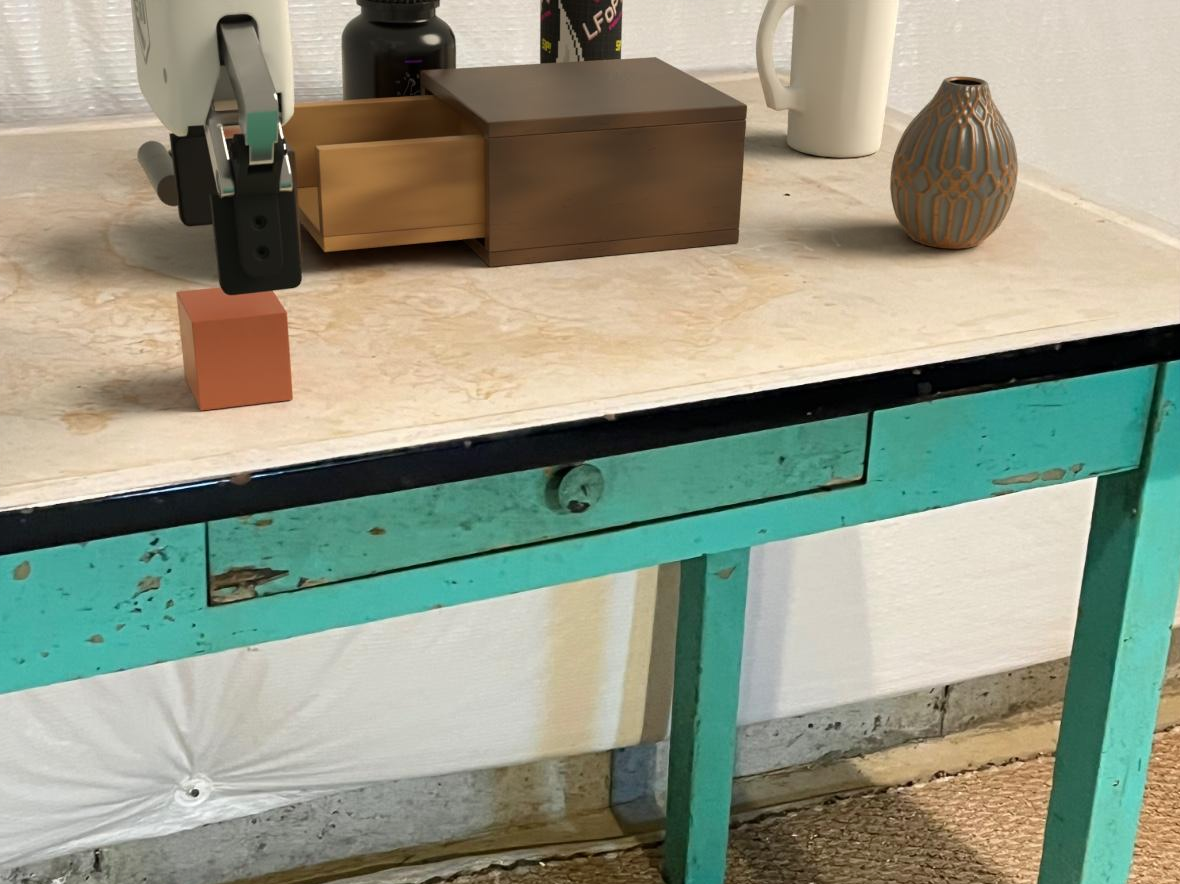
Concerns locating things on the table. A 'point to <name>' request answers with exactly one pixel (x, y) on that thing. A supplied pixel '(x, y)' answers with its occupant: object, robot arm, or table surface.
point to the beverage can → (580, 30)
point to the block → (234, 347)
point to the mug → (831, 73)
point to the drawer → (372, 172)
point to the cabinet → (599, 157)
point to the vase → (954, 168)
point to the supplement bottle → (394, 48)
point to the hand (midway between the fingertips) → (238, 253)
